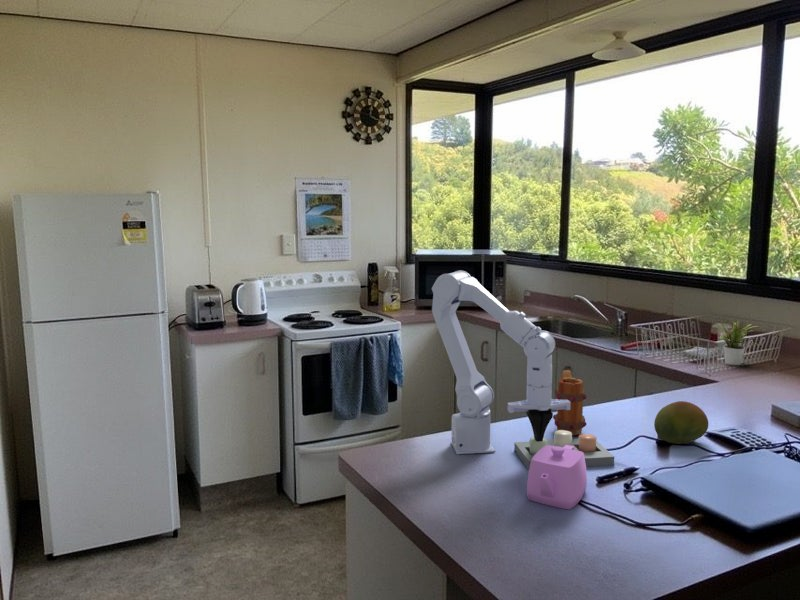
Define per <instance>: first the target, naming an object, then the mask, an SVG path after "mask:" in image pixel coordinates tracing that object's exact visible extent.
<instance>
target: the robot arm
mask: <svg viewBox="0 0 800 600" xmlns="http://www.w3.org/2000/svg"><path fill="white" fill-rule="evenodd" d="M431 291H432V294H433V296H432V305H431V312H432V315H433V316H432V317H433V318H434V321H435V324H436V327H437V330H438V332H439V335H440V337H441V340H442V343H443V345H444V347H445V350H446V353H447V356H448V359H449V362H450V364H451V367H452V370H453V372H454V375H455V377H456V378H455V379H456V383H455V389H454V391H455V393H456V398H457V399H456V405H457V408H458V411H459V412H458V413H453V414H452V415H451V440H450V443H451V445H452V447H453V449H454V452H455V454H456V455H468V454H484V453H488V454H489V453H495V452H496V449H495V448H494V447H493V445H492V444H491V408H490V406H491V404H492V403H493V401H494V398H495V393H494V390H493V388H492V387H491V386H490V384H488V382H487V381H486V379H485V376H484V375H483V374H481V373H480V372H479V371H478V369H477V367H476V364H475V361H474V359H473V355H472V354H471V351H470V347H469V345H468V341H467V339H466V337H465V334H464V332H463V329H462V326H461V323H460V321H459V318H458V316H457V313H456V312H457V309H458V308H459V306H460V304H461V302H463V301H465V302H473V303H474V304H476V305H477V306H478V307H480V308H482V309H483V310H484V311H485V312H487V313H488V314H489V315H491V316H492V317H493V318H494V319H496V320H497V321H498V322H499V325H500V330H501V331H503V332H504V333H505V335H507V336H508V337H509V338H511V339H512V340H513V341H515V342H516V343H517V344H518V345H519V346H521V347H522V349H523V353H524V354H525V356H526V357H527V358H526V359H527V360H526V399H523V400H519V401H512V402H507V411H508V413H509V414H514V413H519V412H525V413H526V416H527V417H528V420H529V422H530V424H531V428H532V432H533V437H534V439H535V440H536V441H537V442H538V441H543V438H545V437H544V436H545V433H546V430H547V428H548V425H549V424H550V422H551V420H552V419H553V416H554V413H553V412H552V411H558V410H561V409H565V410H570V403H571V402H570V401H568V400H557V398H556V399H555V398H554V399H553V397H552V395H553V391H552V390H553V389H552V388H553V354H552V353H553V351H554V350H555V348H556V341H555V340H556V339H555V338H554V336H553V335H552V334H551V333H550V331H547V330H542V328H541V327H540V326H536V325H535V324H533V322H532V321H530V320H529V319H528V318H526V316H527V314H526V313H525V312H523V311H518V310H509V309H508V308H507V307H505V306H504V304H502V303H501V302H500V301H499V299H497V298H496V297H495V296H494V295H493V294H492V293H490V291H489V290H487V289H486V288H485V287H484V286H483V285H482V284H481V283H480V281H478V279H477V278H475V277H474V276H471V274H470V273H468V272H467V271H465V270H461V269H460V270H455V271H454V272H450V273H442V274H441V275H439V276H438V277H437V278H436V279H435V281H434V283H433V285H432V287H431Z"/></svg>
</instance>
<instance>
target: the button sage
mask: <svg viewBox="0 0 800 600" xmlns="http://www.w3.org/2000/svg"><path fill="white" fill-rule="evenodd" d="M547 441H548V440H547V438H545V437H543V441H538V442H537V441H536V440H535V439H534V436H533V437H529V442H530V455H535V454H536V453H537V452H538V451H539V450H540V449H542V448H543V447H544V446H546V445H547Z"/></svg>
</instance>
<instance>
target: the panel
mask: <svg viewBox="0 0 800 600" xmlns="http://www.w3.org/2000/svg"><path fill="white" fill-rule="evenodd" d="M547 445H550V446H554V439H550V440H547ZM572 446H574V450H577V451H579V450H578V448H579V438H572ZM513 447H514V448H513V449H514V450H513V451H514V452H515V451H516V452H517V453H516V452H515V453H516V455H517V456H518V455H519V456H518V458H520V460H521V459H522V460H523V461H522V460H521V461H522V462H523V463H525V464H526V465H525V464H524V465H525V466H526V468H527V467H528V468H527V469H528V470H529V468H530V463H531V459H532V458H533V456H534V455H530V441H515V442H514V446H513ZM583 453H584V457H585V463H586V468H587V467H600V466H601V467H602V465H603V466H614V465H615V456H614V455H613V453H611V452H610V451H609V450H608V449H606V447H604V446H603V445H602V444H601V443H600V442H598V441H597V440H596V452H583Z"/></svg>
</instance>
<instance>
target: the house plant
mask: <svg viewBox="0 0 800 600" xmlns="http://www.w3.org/2000/svg"><path fill="white" fill-rule="evenodd" d="M717 324H718V325H720V327H721V329H722V330H723V331H724V333H722V335H723V336H719V337H718V338H719V339H721V340H723V341H724V342H725V343H726V344H724V345H723V353H724V360H725V361H724V362H725V364H727V365H731V366H741V365H742V362H743V358H744V354H745V351H746V347H745V346H743V345H744V344H745V343H746V342H748V341H749V340H752V341H753V342H754V341H755V340H754V339H753V337H752V338H750V337H749V338H748V337H745V335H746V334H748V333H749V332H753V331H755V330H753V329H752V330H751V328H757V327H759V326H758V325H753V323H750V324H748V325H746V326H745V327H743V328H740V323H739V320H738V319H737V320H736V322H735V321H732V324H733V326H732V329H731V330H730V333H729V332H728V330H727V329H726V326H724V325H722V324H721V323H718V322H717ZM752 325H753V326H752ZM749 329H750V330H749ZM745 340H746V341H745ZM742 342H743V343H742ZM741 343H742V345H741Z"/></svg>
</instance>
